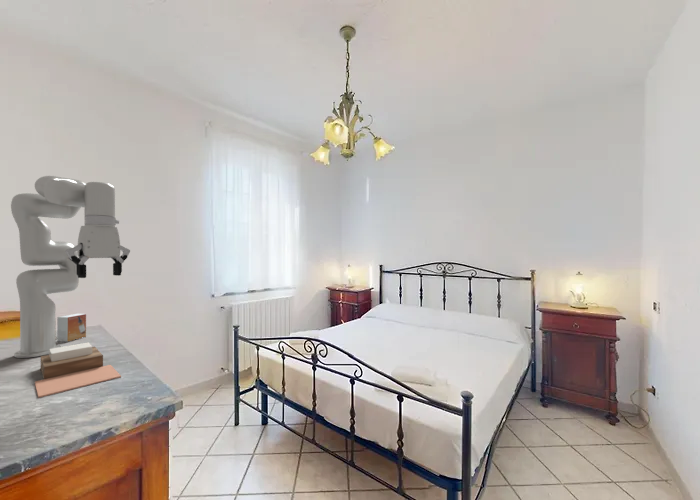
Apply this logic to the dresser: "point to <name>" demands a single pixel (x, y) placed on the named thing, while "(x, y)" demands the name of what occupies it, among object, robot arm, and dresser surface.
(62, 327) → the small box
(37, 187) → the robot arm
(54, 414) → the dresser surface
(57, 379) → the mat
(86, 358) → the block
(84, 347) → the tile
